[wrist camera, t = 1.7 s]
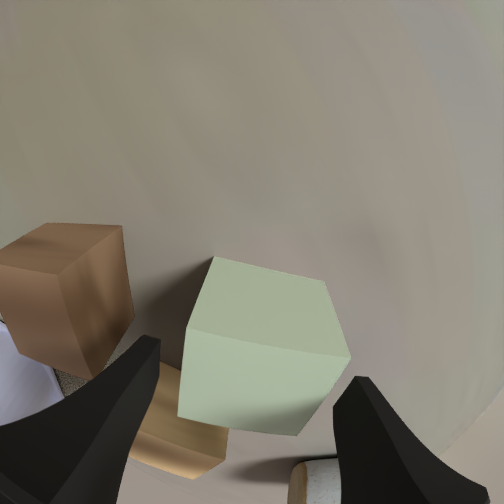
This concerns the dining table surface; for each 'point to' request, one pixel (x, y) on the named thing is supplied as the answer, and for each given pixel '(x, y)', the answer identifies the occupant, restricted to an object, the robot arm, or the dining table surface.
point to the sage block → (259, 350)
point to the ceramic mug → (315, 483)
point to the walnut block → (67, 295)
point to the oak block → (177, 434)
